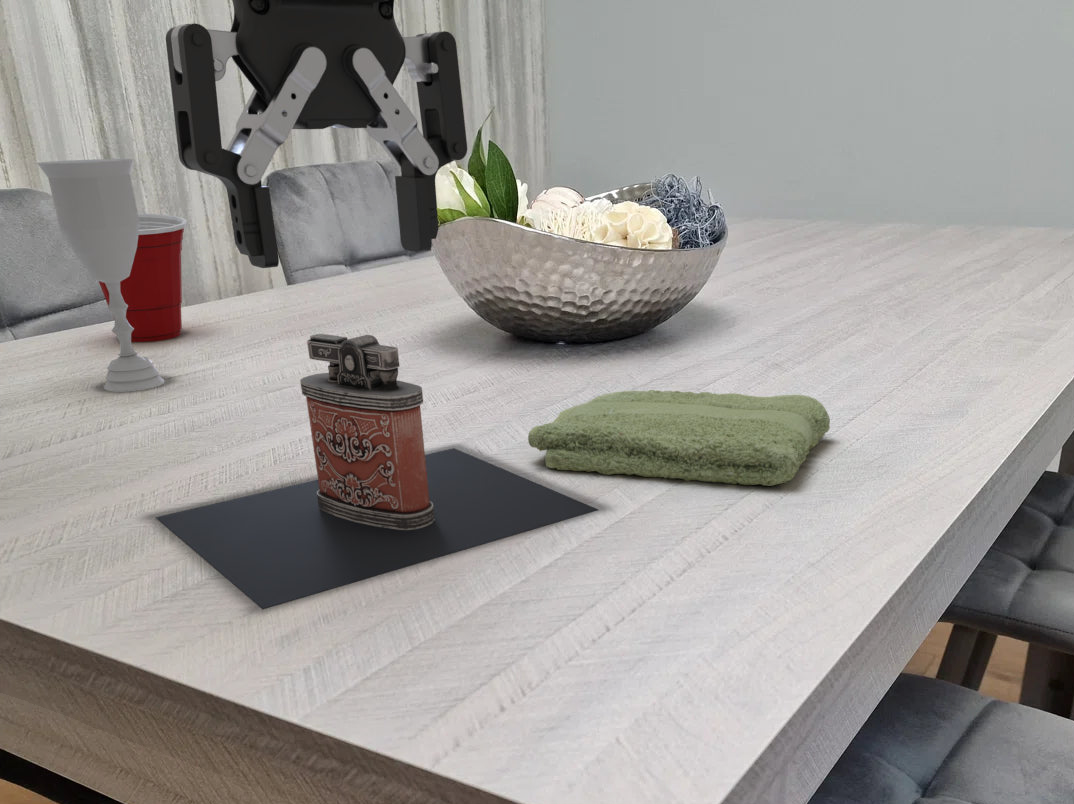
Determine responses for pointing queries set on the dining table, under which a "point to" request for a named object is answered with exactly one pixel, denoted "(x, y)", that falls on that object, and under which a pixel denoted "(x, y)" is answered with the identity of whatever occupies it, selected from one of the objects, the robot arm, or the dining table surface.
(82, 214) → the chalice
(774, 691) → the dining table surface
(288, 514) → the mat
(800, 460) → the washcloth
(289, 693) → the dining table surface
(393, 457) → the lighter
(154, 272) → the plastic cup
